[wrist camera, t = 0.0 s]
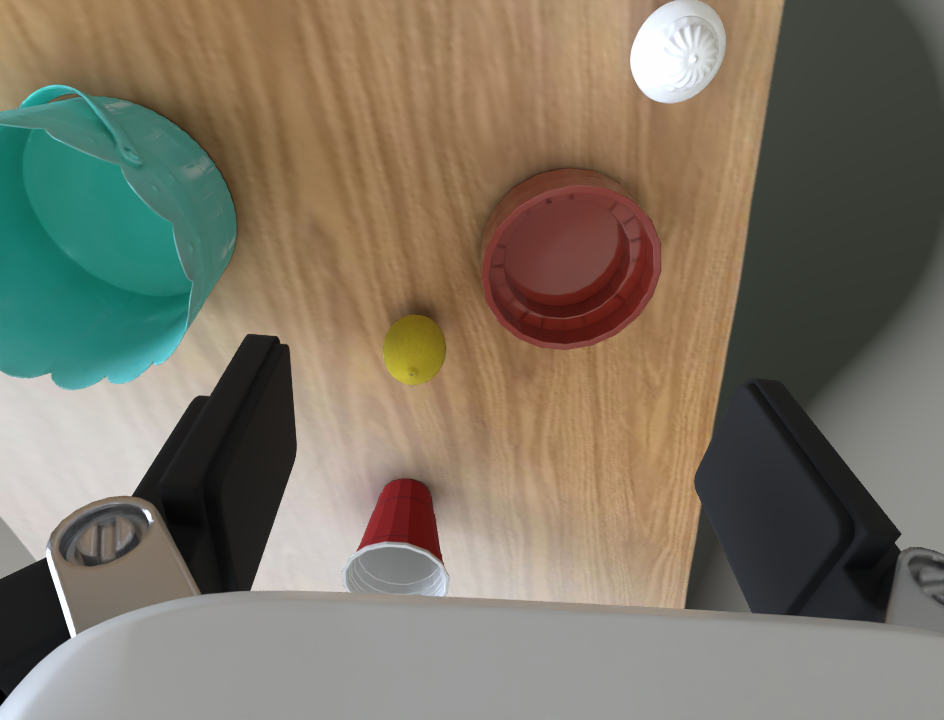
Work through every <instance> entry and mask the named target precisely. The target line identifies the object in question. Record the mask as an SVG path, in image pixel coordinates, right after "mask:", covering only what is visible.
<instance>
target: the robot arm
mask: <svg viewBox="0 0 944 720" xmlns="http://www.w3.org/2000/svg"><path fill="white" fill-rule="evenodd" d="M296 450H297V441H296V428H295V415H294V402H293V389H292V376H291V363H290V351H289V346H288V345H287V344H280V340H279V338H278V337H277V336H268V335H256V334H247V335H246V337H245V338H244V340H243V342H242V343H241V345H240V347H239V348H238V350H237V352H236V353H235V355H234V357H233V358H232V360H231V362H230V363H229V365H228V367H227V368H226V370H225V372H224V373H223V375H222V377H221V378H220V380H219V382H218V383H217V385H216V387H215V388H214V390H213V392H212V393H211V395H210V396H200V395H199V396H197V397H195V398H194V399H193V401H192V402H191V403H190V405H189V406H188V408H187V409H186V411H185V413H184V414H183V416H182V417H181V419H180V420H179V422H178V424H177V425H176V427H175V428H174V430H173V432H172V433H171V435H170V436H169V438H168V439H167V441H166V443H165V444H164V446H163V447H162V449H161V451H160V452H159V454H158V455H157V457H156V458H155V460H154V462H153V463H152V465H151V466H150V468H149V470H148V471H147V473H146V474H145V476H144V477H143V479H142V481H141V482H140V484H139V485H138V487H137V489H136V490H135V492H134V493H133V495H132V496H118V497H109V498H105V499H102V500H98V501H95V502H92V503H90V504H88V505H86V506H84V507H82V508H80V509H78V510H76V511H74V512H73V513H72V514H70V515H69V516H68V517H66V518H65V519H64V520H62V521H61V523H60V524H59V525H58V526H57V527H56V529H55V530H54V531H53V532H52V533H51V536H50V538H49V541H48V543H47V545H46V555H47V557H46V558H44V559H42V560H39V561H37V562H35V563H33V564H31V565H29V566H27V567H25V568H23V569H21V570H19V571H16V572H14V573H12V574H10V575H8V576H6V577H4V578H2V579H0V720H944V554H942V553H939V552H937V551H934V550H930V549H926V548H922V547H909V548H907V549H905V550H903V551H900V550H899V548H898V547H897V546H896V544H895V541H896V540H897V539H898V538H899V537H900V535H901V533H900V531H898V529H897V528H896V526H895V525H894V524H893V523H892V521H891V520H890V519H889V518H888V516H887V515H886V514H885V513H884V511H883V510H882V509H881V507H880V506H879V505H878V504H877V502H876V501H875V500H874V499H873V497H872V496H871V495H870V494H869V492H868V491H867V490H866V488H865V487H864V486H863V485H862V484H861V482H860V481H859V480H858V478H857V477H856V476H855V475H854V473H853V472H852V471H851V470H850V468H849V467H848V466H847V464H846V463H845V462H844V461H843V459H842V458H841V457H840V456H839V454H838V453H837V452H836V451H835V449H834V448H833V447H832V446H831V444H830V443H829V442H828V440H827V439H826V438H825V437H824V435H823V434H822V433H821V432H820V430H819V429H818V428H817V426H816V425H815V424H814V423H813V421H812V420H811V419H810V418H809V416H808V415H807V414H806V413H805V411H804V410H803V409H802V408H801V406H800V405H799V404H798V403H797V401H796V400H795V399H794V398H793V396H792V395H791V394H790V392H789V391H788V390H787V389H786V387H785V386H784V385H783V384H782V383H781V382H780V381H777V380H767V379H756V378H751V379H748V380H747V381H746V382H745V383H744V384H740V385H739V386H738V387H737V388H736V389H735V391H734V393H733V396H732V398H731V400H730V402H729V404H728V406H727V408H726V410H725V412H724V415H723V417H722V419H721V421H720V423H719V425H718V427H717V429H716V432H715V434H714V436H713V438H712V440H711V442H710V444H709V446H708V448H707V451H706V453H705V455H704V457H703V459H702V461H701V463H700V465H699V467H698V470H697V472H696V474H695V479H694V484H695V489H696V492H697V494H698V496H699V498H700V501H701V503H702V505H703V507H704V509H705V511H706V513H707V516H708V518H709V520H710V522H711V524H712V527H713V529H714V531H715V533H716V535H717V538H718V540H719V542H720V544H721V546H722V549H723V551H724V553H725V555H726V557H727V560H728V562H729V564H730V566H731V568H732V570H733V572H734V575H735V577H736V579H737V581H738V584H739V586H740V588H741V590H742V592H743V594H744V596H745V599H746V601H747V603H748V605H749V608H750V609H751V612H752V613H739V612H723V611H705V610H689V609H673V608H655V607H636V606H618V605H600V604H581V603H562V602H543V601H524V600H505V599H484V598H463V597H442V596H421V595H401V594H380V593H350V592H318V591H250V590H251V587H252V585H253V582H254V579H255V576H256V573H257V570H258V567H259V564H260V561H261V558H262V555H263V552H264V549H265V546H266V544H267V541H268V538H269V535H270V532H271V529H272V526H273V523H274V520H275V517H276V514H277V511H278V508H279V505H280V503H281V500H282V497H283V494H284V491H285V488H286V485H287V482H288V479H289V476H290V473H291V470H292V467H293V465H294V461H295V457H296Z"/></svg>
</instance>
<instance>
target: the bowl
mask: <svg viewBox="0 0 944 720" xmlns="http://www.w3.org/2000/svg"><path fill="white" fill-rule="evenodd" d="M480 269H481V280H482V285H483V290H484V295H485V299H486V303H487V305H488V306H489V308H490V310H491V311H492V313H493V314H494V316H495V318H496V319H497V321H498V322H499V323H500V324H501V325H502V326H503V327H504V328H506V329H507V330H508V331H509V332H511V333H512V334H513V335H514V336H515V337H517V338H518V339H520V340H523V341H526V342H528V343H531V344H533V345H536V346H538V347H541V348H551V349H562V350H568V349H574V348H580V347H586V346H591V345H594V344H596V343H599V342H601V341H603V340H605V339H607V338H610V337H612V336H614V335H616V334H617V333H619V332H620V331H621V330H622V329H624V328H625V327H626V326H627V325H629V324H630V323H631V322H632V321H634V320H635V319H636V318H637V317H638V316H639V315H640V313H641V312H642V310H643V309H644V308H645V306H646V305H647V303H648V302H649V300H650V299H651V298H652V296H653V294H654V291H655V288H656V285H657V282H658V279H659V276H660V273H661V243H660V240H659V238H658V235H657V233H656V230H655V228H654V225H653V223H652V220H651V219H650V218H649V216H648V215H647V214H646V212H645V211H644V210H643V209H642V207H641V206H640V205H639V204H638V202H637V201H636V200H635V199H634V198H633V197H632V196H631V195H630V193H629V192H628V191H627V190H626V189H625V188H624V187H623V186H622V185H621V184H620V183H619V182H617V181H615V180H613V179H611V178H609V177H607V176H605V175H603V174H601V173H599V172H597V171H591V170H583V169H574V168H564V169H559V170H554V171H549V172H544V173H540V174H537V175H536V176H534V177H532V178H530V179H528V180H527V181H525V182H523V183H521V184H519V185H518V186H516V187H514V188H513V189H512V190H511V191H510V192H509V193H508V194H507V195H506V196H505V197H504V199H503V200H502V201H501V202H500V203H499V204H498V205H497V206H496V207H495V208H494V210H493V212H492V214H491V216H490V218H489V220H488V222H487V224H486V226H485V228H484V230H483V235H482V242H481V250H480Z"/></svg>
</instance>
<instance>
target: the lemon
mask: <svg viewBox="0 0 944 720" xmlns="http://www.w3.org/2000/svg"><path fill="white" fill-rule="evenodd" d="M445 354H446V343H445V337H444V335H443V333H442V330H441V329H440V327H439V326H438V325H437V324H436V323H435V322H434V321H433V320H431V319H430V318H427V317H425V316H422V315H409V316H405V317H402V318H401V319H399V320H397V321H396V322H395V323H394V324H393V325H392V326H391V327H390V329H389V330H388V332H387V334H386V336H385V340H384V344H383V357H384V361H385V364H386V367H387V369H388V371H389V372H390V374H391V375H392V376H393V377H394V378H395V379H397V380H398V381H400V382H402V383H405V384H408V385H419V384H423V383H426V382H428V381H429V380H431V379H432V378H433V377H434V376H435V375H436V374H437V373H438V372H439V370H440V368H441V367H442V365H443V362H444V359H445Z"/></svg>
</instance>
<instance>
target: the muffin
mask: <svg viewBox="0 0 944 720" xmlns="http://www.w3.org/2000/svg"><path fill="white" fill-rule="evenodd" d="M725 49H726V35H725V30H724V26H723V24H722V21H721V19H720V18H719V16H718V14H717V13H716V12H715V11H714V10H713V9H712V8H711V7H710V6H709V5H707V4H706V3H704V2H702V1H699V0H675V1H672V2H669V3H667V4H665V5H663V6H661V7H660V8H658V9H657V10H656V11H655V12H653V13H652V14H651V15H650V16H649V18H648V19H647V20H646V21H645V22H644V24H643V25H642V27H641V28H640V30H639V32H638V34H637V36H636V38H635V41H634V43H633V47H632V50H631V58H630V63H631V70H632V74H633V77H634V79H635V81H636V83H637V85H638V87H639V88H640V89H641V91H642V92H643V93H644V94H645V95H646V96H648V97H649V98H651V99H653V100H655V101H658V102H662V103H677V102H681V101H684V100H687V99H689V98H691V97H693V96H694V95H696V94H697V93H699V92H700V91H701V90H703V89H704V88H705V87H706V86H707V85H708V84H709V83H710V82H711V80H712V79H713V78H714V76H715V75H716V73H717V72H718V70H719V68H720V66H721V63H722V61H723V58H724V54H725Z"/></svg>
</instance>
